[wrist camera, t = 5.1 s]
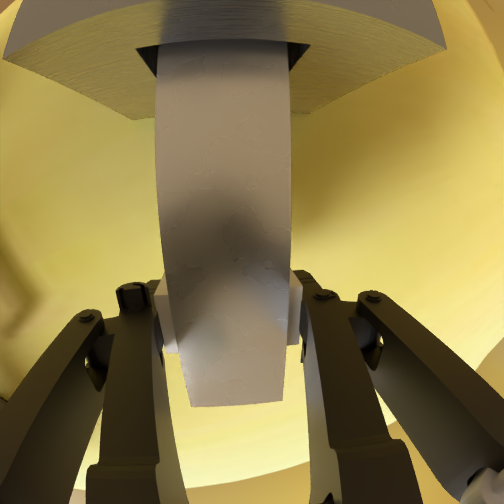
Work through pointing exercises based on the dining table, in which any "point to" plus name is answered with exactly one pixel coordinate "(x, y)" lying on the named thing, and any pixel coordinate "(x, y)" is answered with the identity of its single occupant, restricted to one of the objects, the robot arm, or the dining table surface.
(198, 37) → the block
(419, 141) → the dining table surface
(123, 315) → the robot arm
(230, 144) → the shaft
